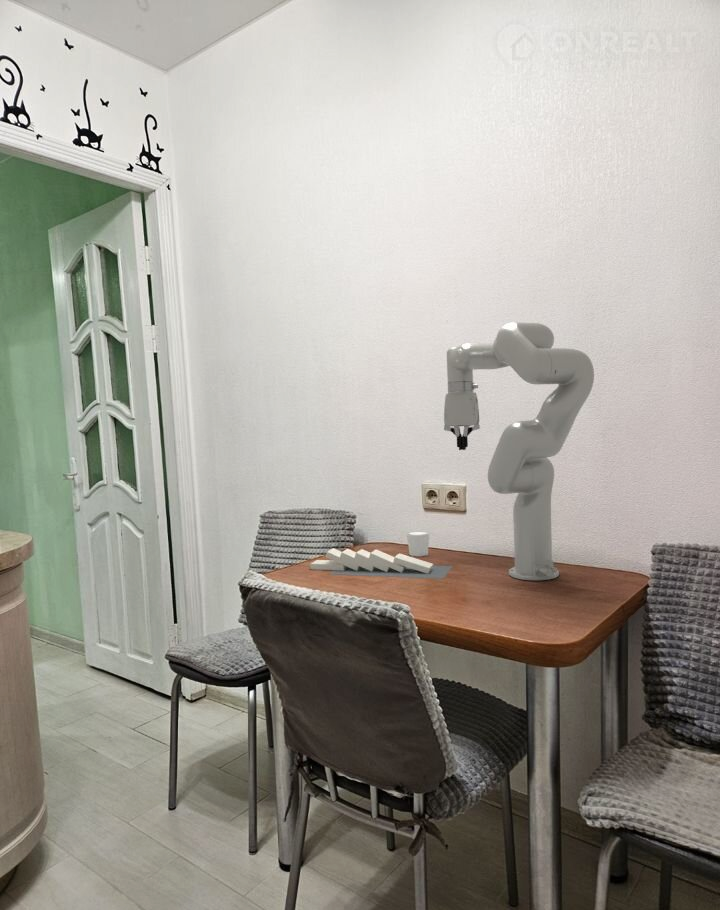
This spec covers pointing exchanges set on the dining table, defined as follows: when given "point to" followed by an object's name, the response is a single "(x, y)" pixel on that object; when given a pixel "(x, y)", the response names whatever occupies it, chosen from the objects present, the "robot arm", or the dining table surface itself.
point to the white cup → (418, 543)
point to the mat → (397, 572)
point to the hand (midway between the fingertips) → (462, 449)
